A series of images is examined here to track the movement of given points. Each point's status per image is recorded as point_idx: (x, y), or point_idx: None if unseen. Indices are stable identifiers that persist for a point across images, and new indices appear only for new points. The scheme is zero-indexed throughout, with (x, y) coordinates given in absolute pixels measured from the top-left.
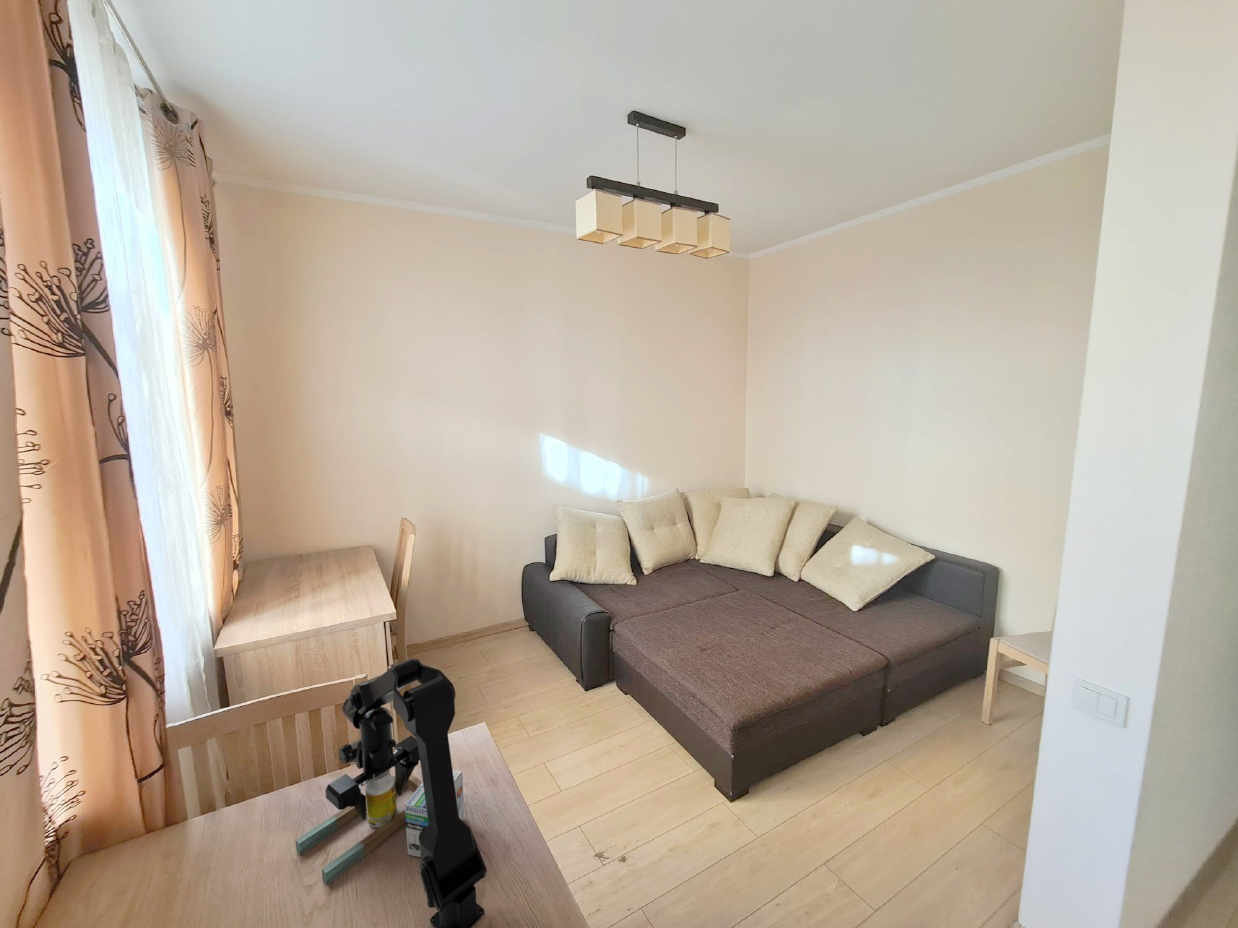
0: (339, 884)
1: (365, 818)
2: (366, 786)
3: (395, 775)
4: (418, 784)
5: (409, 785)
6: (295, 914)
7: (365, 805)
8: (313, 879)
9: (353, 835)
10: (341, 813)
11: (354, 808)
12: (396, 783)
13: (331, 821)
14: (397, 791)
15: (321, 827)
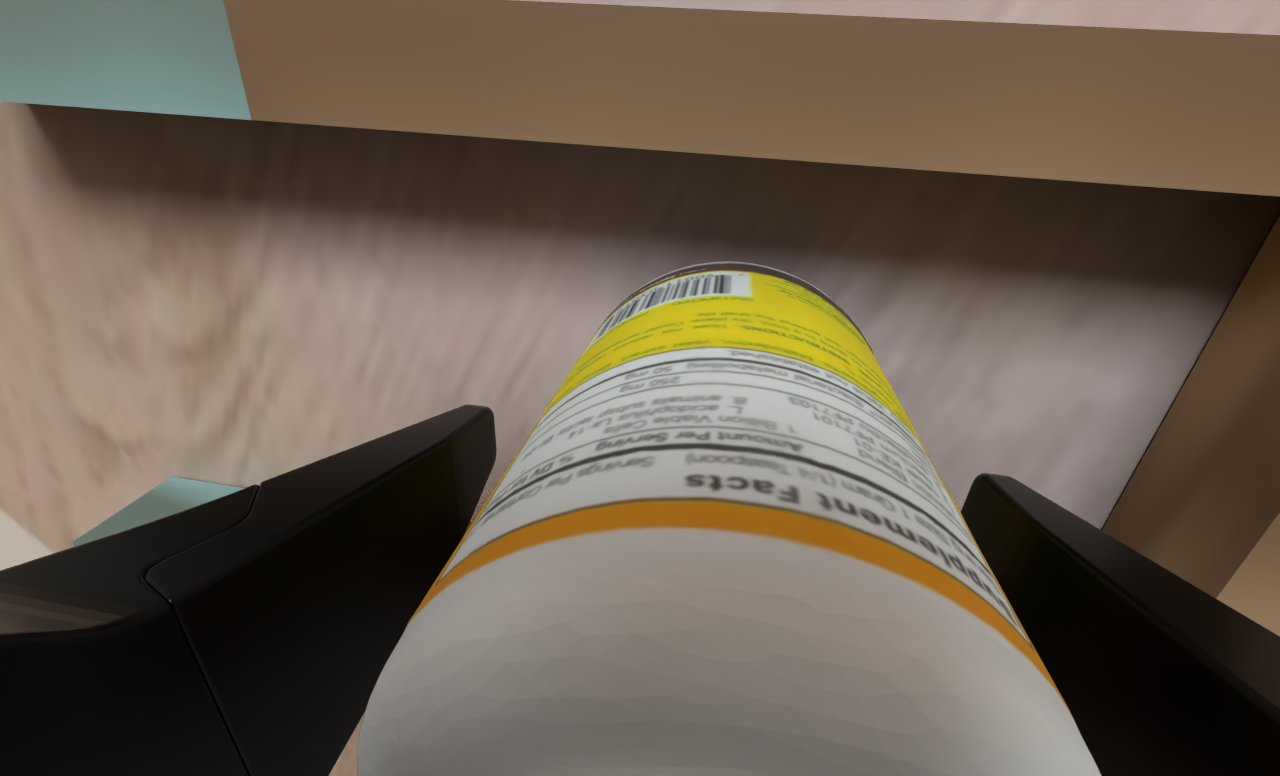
0: None
1: (489, 474)
2: (380, 752)
3: (1228, 686)
4: (1258, 565)
5: (1270, 330)
6: (33, 520)
7: (320, 773)
8: (122, 417)
9: (449, 328)
10: (329, 74)
11: (513, 134)
12: (1074, 591)
13: (193, 92)
14: (991, 520)
15: (67, 80)
